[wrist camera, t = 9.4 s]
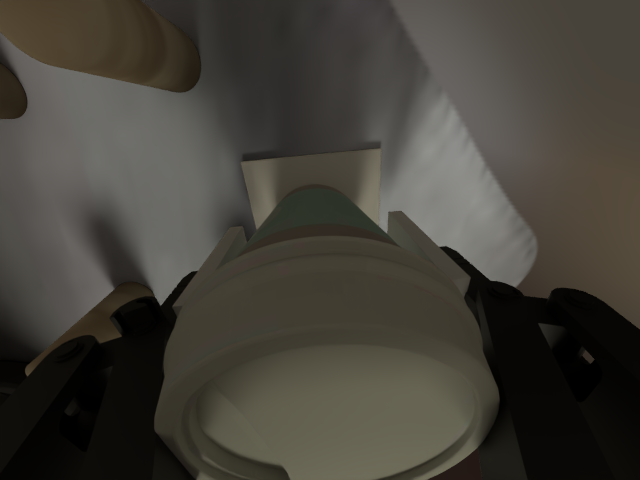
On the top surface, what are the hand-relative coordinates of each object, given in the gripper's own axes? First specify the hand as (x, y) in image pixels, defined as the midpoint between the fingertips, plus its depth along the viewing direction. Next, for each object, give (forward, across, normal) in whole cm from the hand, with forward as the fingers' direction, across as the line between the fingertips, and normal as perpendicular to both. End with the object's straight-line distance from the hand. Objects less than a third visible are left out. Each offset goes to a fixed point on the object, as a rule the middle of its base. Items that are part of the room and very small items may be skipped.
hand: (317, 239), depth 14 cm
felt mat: (+3, 0, 0) cm, 3 cm away
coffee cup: (+2, 0, 0) cm, 2 cm away
